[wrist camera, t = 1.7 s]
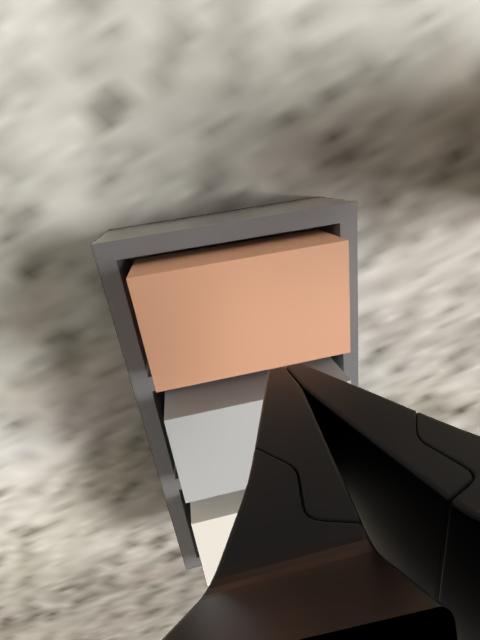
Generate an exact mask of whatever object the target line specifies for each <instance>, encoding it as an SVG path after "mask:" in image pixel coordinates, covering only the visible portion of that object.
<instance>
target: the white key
mask: <svg viewBox="0 0 480 640" xmlns="http://www.w3.org/2000/svg"><path fill="white" fill-rule="evenodd" d="M244 492H245V489H243V490H239V491H235V492H231V493H226V494H222V495H218V496H214V497H210V498H206V499H202V500H197V501H193V502H190V509H191V525H192V529H193V533H194V537H195V540H196V544H197V548H198V552H199V555H200V559H201V563H202V567H203V571H204V574H205V578H206V582H207V586H209V585H210V583H211V581H212V579H213V577H214V575H215V572H216V570H217V567H218V565H219V562H220V560H221V557H222V554H223V551H224V549H225V546H226V543H227V540H228V538H229V535H230V532H231V529H232V527H233V524H234V521H235V518H236V516H237V513H238V510H239V507H240V505H241V502H242V498H243V495H244Z"/></svg>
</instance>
